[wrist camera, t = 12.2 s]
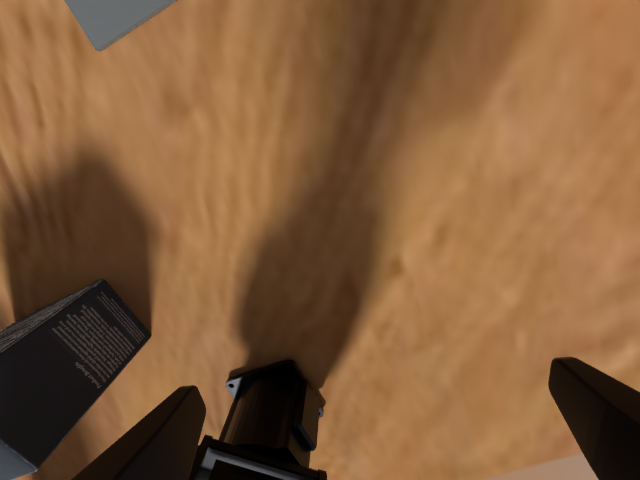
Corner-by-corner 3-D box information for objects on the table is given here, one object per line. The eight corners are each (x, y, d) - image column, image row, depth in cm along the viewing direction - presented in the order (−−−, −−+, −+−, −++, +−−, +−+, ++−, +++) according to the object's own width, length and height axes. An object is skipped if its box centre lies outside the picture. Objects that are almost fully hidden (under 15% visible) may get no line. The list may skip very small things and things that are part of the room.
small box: (67, 376, 27) (-85, 519, 17) (12, 322, 25) (-195, 450, 15) (156, 338, 25) (37, 480, 15) (103, 275, 23) (-75, 392, 13)
